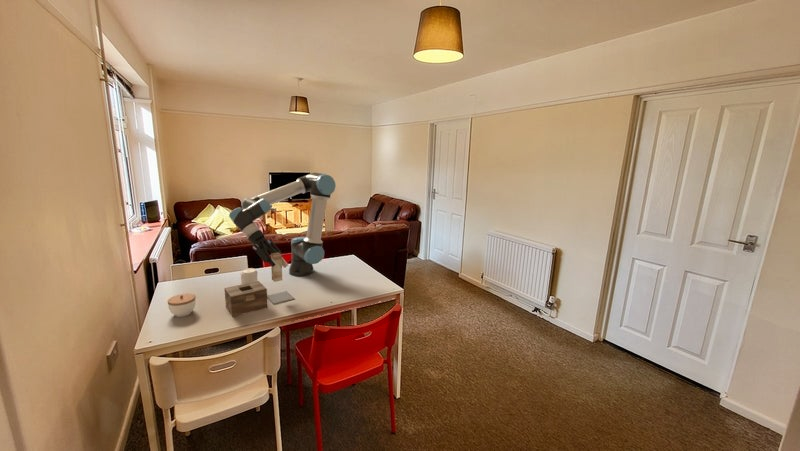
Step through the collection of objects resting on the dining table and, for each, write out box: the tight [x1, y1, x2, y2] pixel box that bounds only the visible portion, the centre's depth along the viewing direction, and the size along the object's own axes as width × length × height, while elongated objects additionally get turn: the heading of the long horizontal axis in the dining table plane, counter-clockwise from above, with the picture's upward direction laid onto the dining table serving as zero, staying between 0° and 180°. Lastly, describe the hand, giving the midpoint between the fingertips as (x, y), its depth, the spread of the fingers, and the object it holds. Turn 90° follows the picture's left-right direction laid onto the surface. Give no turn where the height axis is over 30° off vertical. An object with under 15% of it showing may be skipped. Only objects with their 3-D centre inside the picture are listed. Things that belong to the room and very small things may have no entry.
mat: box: [267, 290, 295, 305], centre depth 170 cm, size 11×11×1 cm
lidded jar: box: [167, 293, 197, 318], centre depth 149 cm, size 11×11×9 cm
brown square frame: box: [223, 280, 268, 317], centre depth 157 cm, size 13×16×10 cm
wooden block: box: [270, 253, 283, 283], centre depth 166 cm, size 4×4×14 cm
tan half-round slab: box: [240, 267, 259, 285], centre depth 176 cm, size 8×8×12 cm
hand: (283, 268), depth 165 cm, fingers closed on wooden block, 6 cm apart
